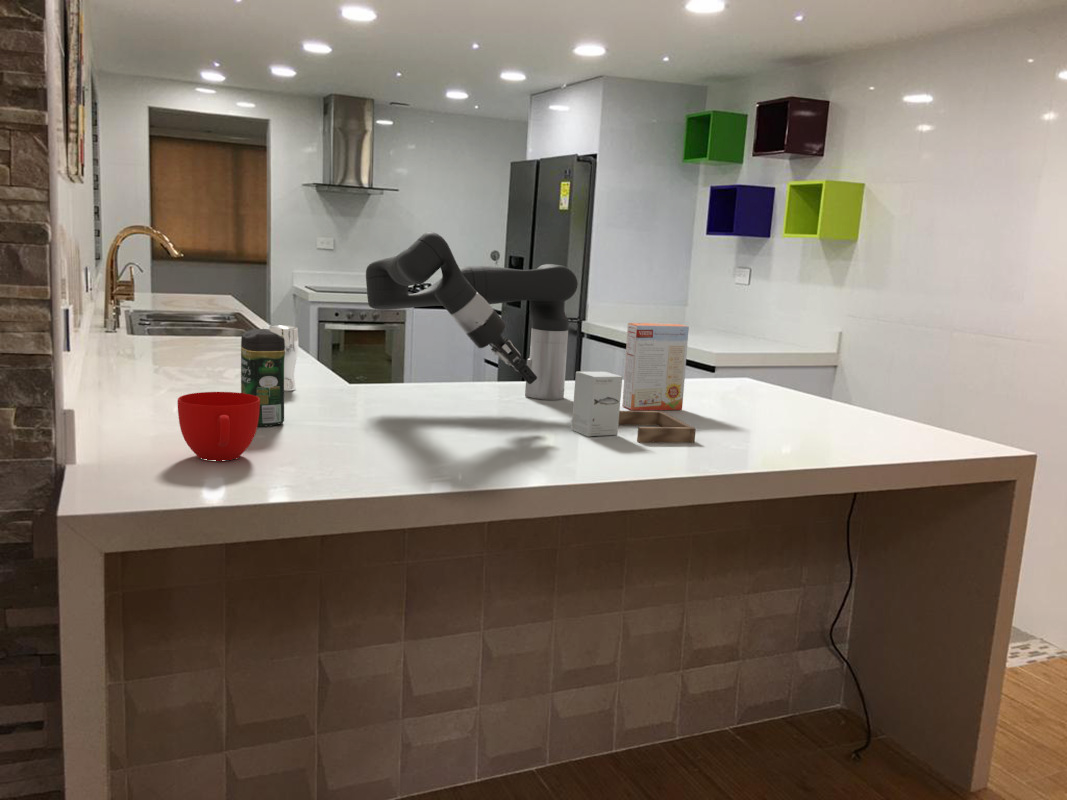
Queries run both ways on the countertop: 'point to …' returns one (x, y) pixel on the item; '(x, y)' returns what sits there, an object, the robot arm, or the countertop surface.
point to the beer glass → (288, 352)
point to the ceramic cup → (218, 423)
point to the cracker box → (655, 366)
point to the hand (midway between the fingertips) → (528, 377)
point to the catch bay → (666, 433)
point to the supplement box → (596, 403)
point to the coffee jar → (264, 373)
